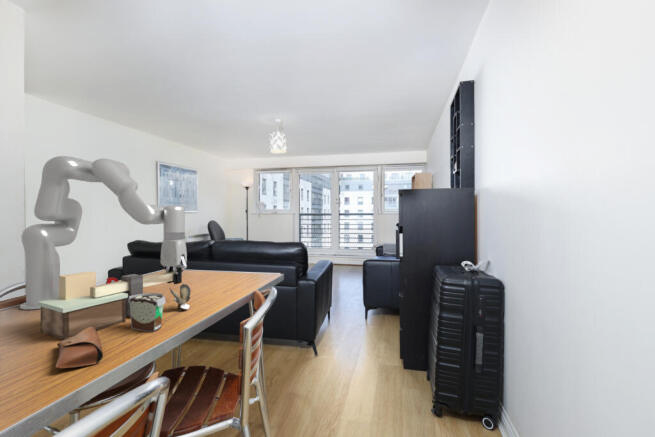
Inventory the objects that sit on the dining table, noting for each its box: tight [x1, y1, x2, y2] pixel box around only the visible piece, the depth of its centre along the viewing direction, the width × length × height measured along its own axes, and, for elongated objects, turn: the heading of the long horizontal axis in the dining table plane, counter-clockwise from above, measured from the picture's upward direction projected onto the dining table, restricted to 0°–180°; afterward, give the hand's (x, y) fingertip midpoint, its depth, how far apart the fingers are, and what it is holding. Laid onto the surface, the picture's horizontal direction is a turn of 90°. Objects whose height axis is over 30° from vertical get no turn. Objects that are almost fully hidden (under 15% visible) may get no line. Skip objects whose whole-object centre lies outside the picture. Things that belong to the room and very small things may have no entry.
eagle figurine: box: [169, 283, 192, 312], centre depth 107 cm, size 8×7×9 cm
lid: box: [38, 270, 128, 313], centre depth 91 cm, size 15×17×8 cm
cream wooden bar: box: [90, 271, 175, 298], centre depth 104 cm, size 3×30×3 cm, turn 154°
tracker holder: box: [105, 276, 119, 284], centre depth 118 cm, size 12×4×10 cm, turn 168°
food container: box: [128, 292, 166, 333], centre depth 91 cm, size 12×6×10 cm, turn 71°
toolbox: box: [40, 273, 144, 341], centre depth 94 cm, size 14×22×14 cm, turn 154°
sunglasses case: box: [55, 327, 104, 369], centre depth 73 cm, size 18×7×7 cm
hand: (174, 282), depth 116 cm, fingers closed on cream wooden bar, 3 cm apart
